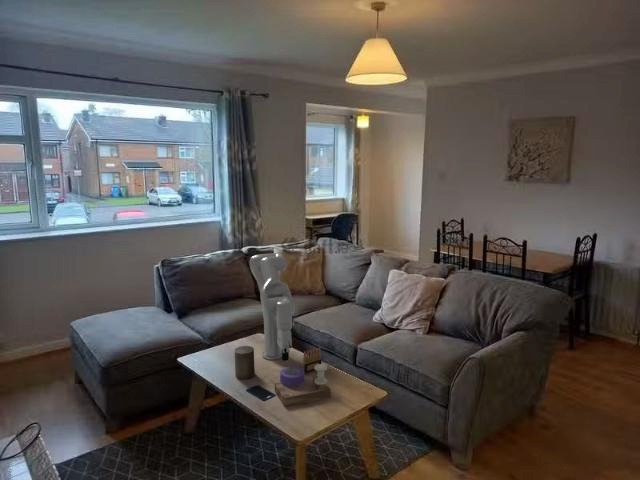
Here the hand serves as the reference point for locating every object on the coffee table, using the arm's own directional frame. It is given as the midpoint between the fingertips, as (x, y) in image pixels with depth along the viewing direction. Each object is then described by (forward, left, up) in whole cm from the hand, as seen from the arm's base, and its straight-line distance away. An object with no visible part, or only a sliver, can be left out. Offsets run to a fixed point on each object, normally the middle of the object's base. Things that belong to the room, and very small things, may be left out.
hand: (285, 359), depth 235 cm
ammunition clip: (+4, +13, -7) cm, 15 cm away
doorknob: (+24, +10, -2) cm, 26 cm away
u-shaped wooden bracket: (+24, 0, -6) cm, 25 cm away
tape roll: (+10, 0, -7) cm, 12 cm away
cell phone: (+16, -17, -7) cm, 25 cm away
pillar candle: (-4, -20, -7) cm, 21 cm away
